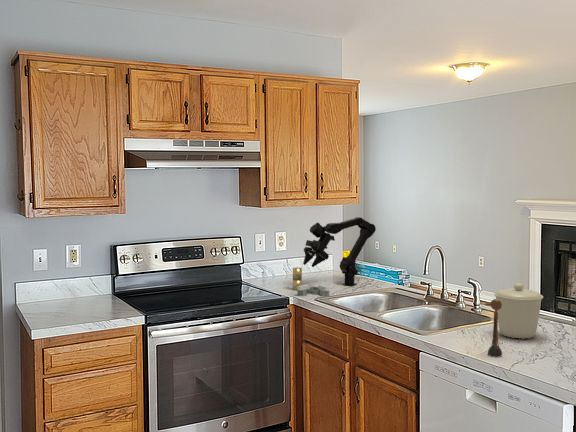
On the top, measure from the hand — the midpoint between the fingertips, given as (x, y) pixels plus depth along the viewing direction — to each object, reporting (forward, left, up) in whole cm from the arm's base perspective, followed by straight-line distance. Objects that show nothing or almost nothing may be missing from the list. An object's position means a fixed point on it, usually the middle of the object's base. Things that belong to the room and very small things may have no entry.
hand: (307, 265), depth 337 cm
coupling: (+4, -4, -13) cm, 15 cm away
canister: (+45, +118, -13) cm, 127 cm away
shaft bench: (+11, +11, -13) cm, 21 cm away
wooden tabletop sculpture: (+76, +115, -13) cm, 138 cm away
